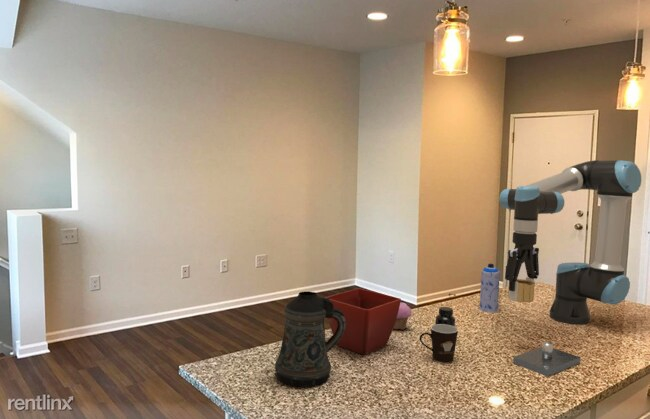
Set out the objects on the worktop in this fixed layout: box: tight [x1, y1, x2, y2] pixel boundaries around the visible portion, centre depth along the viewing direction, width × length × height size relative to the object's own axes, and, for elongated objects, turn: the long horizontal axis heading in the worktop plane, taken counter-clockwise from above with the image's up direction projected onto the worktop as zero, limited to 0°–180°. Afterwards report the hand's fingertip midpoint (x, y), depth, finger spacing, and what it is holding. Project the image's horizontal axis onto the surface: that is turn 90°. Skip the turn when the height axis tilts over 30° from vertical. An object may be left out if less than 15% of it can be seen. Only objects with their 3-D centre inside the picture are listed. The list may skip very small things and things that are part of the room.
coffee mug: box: [419, 324, 459, 364], centre depth 165 cm, size 12×9×10 cm
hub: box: [507, 278, 536, 303], centre depth 173 cm, size 8×8×6 cm
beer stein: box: [274, 291, 346, 389], centre depth 150 cm, size 16×19×25 cm
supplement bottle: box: [434, 306, 456, 327], centre depth 180 cm, size 7×7×12 cm
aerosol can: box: [478, 263, 501, 313], centre depth 219 cm, size 8×8×20 cm
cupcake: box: [393, 302, 412, 331], centre depth 193 cm, size 9×9×10 cm
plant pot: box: [324, 288, 402, 355], centre depth 174 cm, size 19×19×17 cm
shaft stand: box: [512, 341, 581, 377], centre depth 162 cm, size 18×12×6 cm, turn 125°
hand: (520, 298), depth 173 cm, fingers closed on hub, 8 cm apart
